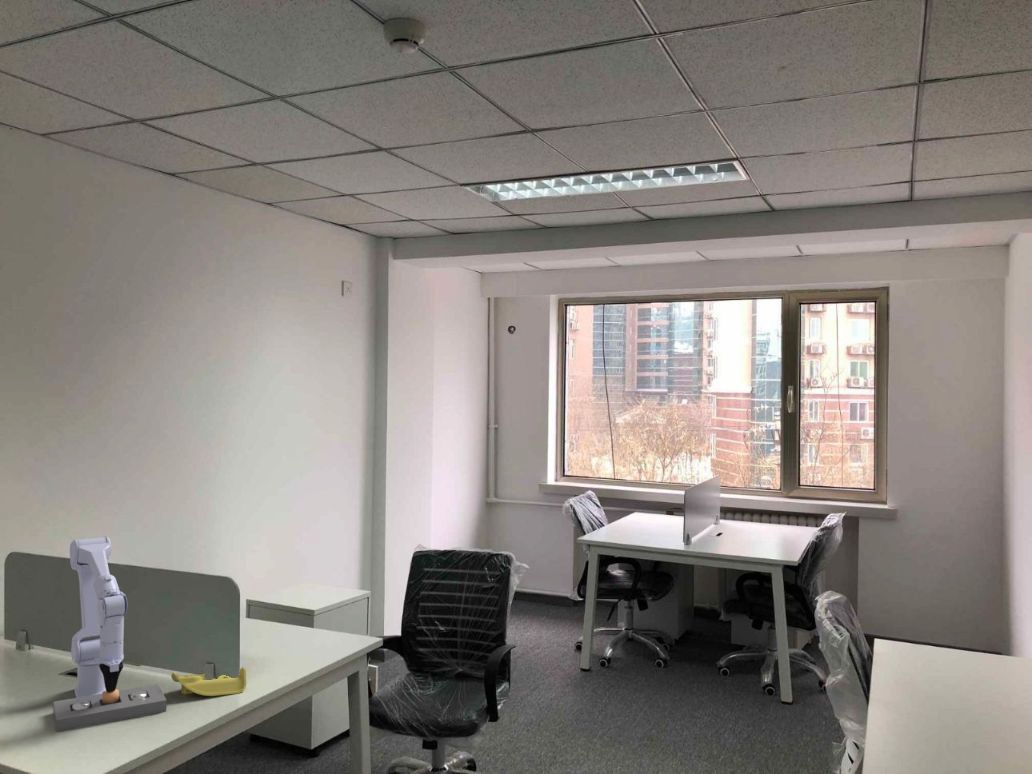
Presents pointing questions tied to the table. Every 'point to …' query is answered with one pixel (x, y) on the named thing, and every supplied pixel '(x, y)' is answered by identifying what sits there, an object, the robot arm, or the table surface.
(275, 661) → the table surface
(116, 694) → the orange plunger
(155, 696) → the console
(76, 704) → the plunger
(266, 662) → the table surface
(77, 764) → the table surface
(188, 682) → the plastic component
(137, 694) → the plunger
